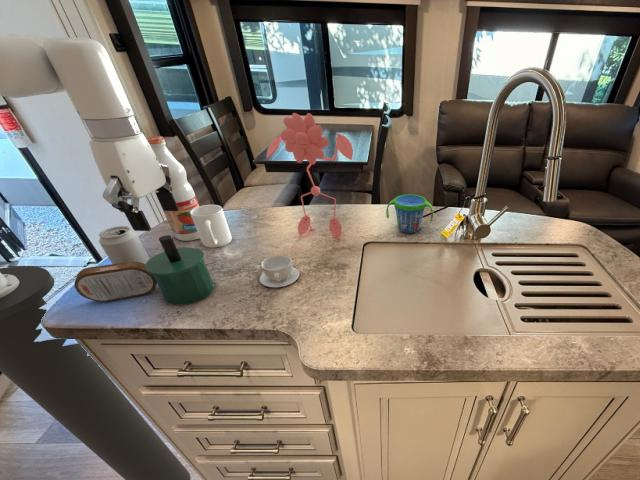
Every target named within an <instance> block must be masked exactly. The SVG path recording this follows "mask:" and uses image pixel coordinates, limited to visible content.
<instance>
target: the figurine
mask: <svg viewBox="0 0 640 480" xmlns="http://www.w3.org/2000/svg"><path fill="white" fill-rule="evenodd" d="M282 120H283V124H284V125H285V127H286V129H283V130H282V131H281V132H280V134H278V135H277V136H276V137H274V139H272V140H271V142H270V144H269V146H268V148H267V151H266V156H265V157H266V158H265V159H269V158H271V157H272V156H273V155H274V154H275V153H276V152H277V150H278V149H279V147H280V145H281V142H283V143H284V144H285V145H284V148H285V151H286V152H288V153H292V155H293V158H294V160H295V161H296V163H298V164H301V163H303V162H304V161H307V162H308V163H309V164H308V165H307V167H306V172H307V175H308V178H309V179H310V182H311V184H312V187H311V188H310V192H307V193H305V194H302V195H301V196H300V200H301V205H302V209H303V214H304V215H303V216H302V217H301V219H300V220H299V221H298V225H297V232H298V233H297V234H298V236H299V237H301V236H303V235H304V234H306V233H307V232H308V230H309V229H310V230H311V231H314V229H313V226H312V225H311V219H312V218H311V217H310V216H309V215H308V214H306V210H305V205H304V199H303V197H306V196H307V195H311V194H312V195H313V196H315V197H318V196H319V195H322V196H325V197H327V198H330V199H333V200H334V204H333V205H334V207H333V217H332V218H331V219H330V220H329V224H328V228H329V231H330V233H331V235H332V237H334V238H335V239H336V240H340V237H341V235H342V224H341V223H340V221H339V219H337V218H336V209H337V207H336V206H337V204H336V203H337V199H336V198H335V197H332V196H329V195H327V194H325V193H322V192H321V188H320V187H319V186H317V185H315V183H314V181H313V178H312V175H311V172H310V170H309V169H310V168H311V166H312V165H315V164H316V162H317V159H318V160H325V161H330V162H331V161H332V162H336V160H337V156H338V152H339V153H340V154H341V155H342V156H343V157H345V158H346V159H348V160H350V161H352V160H353V156H354V155H353V154H354V149H353V145H352V143H351V141H350V140H349V139H348V138H347V137H346V136H345V135H343V134H341V133H339V132H338V133H337V134H336V138H335V142H336V145H335V151H334V158H330V157H325V153H324V151H323V149H324V148H326V147H327V146H328V145H329V140H328V138H326V136H325V137H324V136H323V128H322V126H321V125H320V124H317V125H316V120H315V118H314V116H313V115H312V113H309V112H308V113H306V115H305V116H304V118H303V117H302V115H300V114H298V113H297V112H293V113H292V114H291V117H289V116H288V117H287V116H286V117H284V118H283V119H282ZM295 228H296V226H294V227H293V229H295ZM295 248H296V249H298V250H300V248H299V247H296V246H295ZM343 248H344V246H343V247H338V250H340V249H343ZM301 250H303V251H304V249H302V248H301ZM335 250H337V248H335V249H333V251H335ZM305 251H307V252H310V250H309V249H305ZM314 252H315V253H316V252H323V250H314ZM329 252H332V249H329V250H327V253H329Z"/></svg>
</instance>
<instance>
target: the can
mask: <svg viewBox="0 0 640 480" xmlns="http://www.w3.org/2000/svg"><path fill="white" fill-rule="evenodd" d="M131 228H132V227H130V226H125V225H118V226H113V227H109V228H105V229H104V230H102V231H100V232H99V234H98V237H99V239H98V243H99V244H100V247H101V248H102V249H103V251H104V253H105V254H106V256H107V258H108V259H109V261H110V262H111V264H116V263H123V262H131V261H134V262H141V263H144V264H146V263H147V261H148V260H149V259H151V257H150V256H149V255H148V252H147V251H146V249H145V247H144V245H143V243H142V240H141V238H140V237H139V236H138V233H137V231H135V230H133V229H131Z"/></svg>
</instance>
